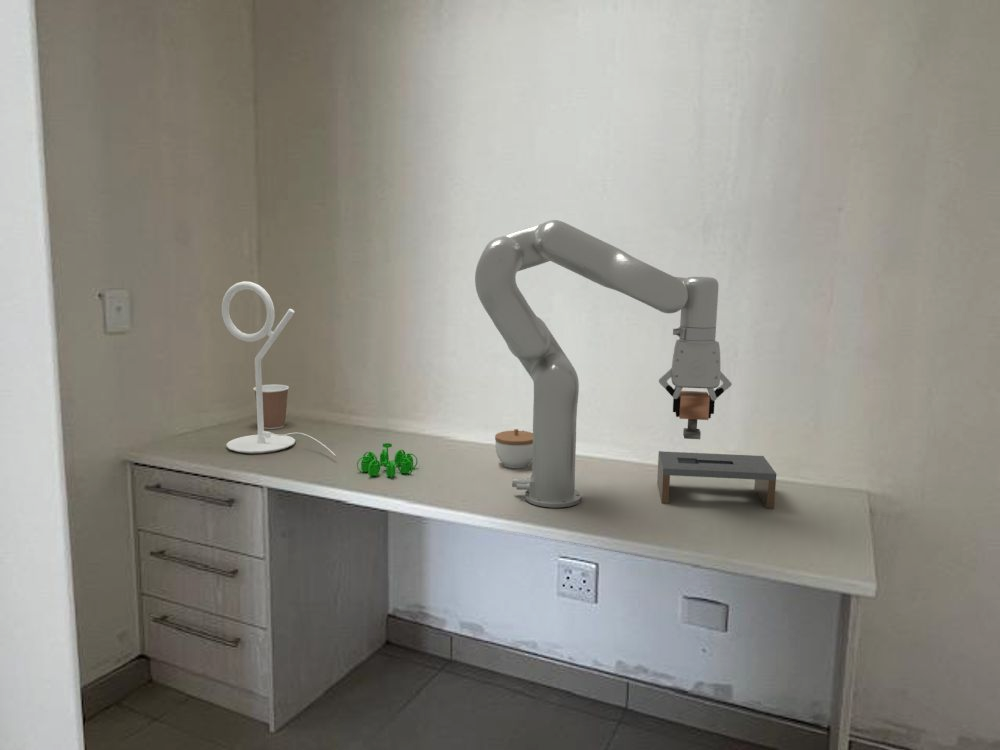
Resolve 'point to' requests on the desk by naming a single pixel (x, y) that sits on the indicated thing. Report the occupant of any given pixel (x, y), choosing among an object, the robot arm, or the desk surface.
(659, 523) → the desk surface
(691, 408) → the headed peg
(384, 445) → the chandelier
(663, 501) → the keyhole stand
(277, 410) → the coffee cup
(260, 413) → the desk lamp
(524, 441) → the lidded jar
